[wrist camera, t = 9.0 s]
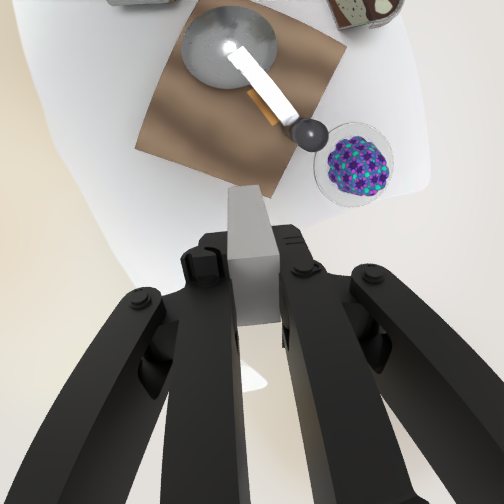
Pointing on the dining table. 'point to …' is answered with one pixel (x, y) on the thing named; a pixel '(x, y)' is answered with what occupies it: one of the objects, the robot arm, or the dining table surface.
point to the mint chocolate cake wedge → (364, 12)
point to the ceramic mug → (136, 2)
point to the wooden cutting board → (238, 106)
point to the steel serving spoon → (245, 65)
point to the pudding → (354, 165)
